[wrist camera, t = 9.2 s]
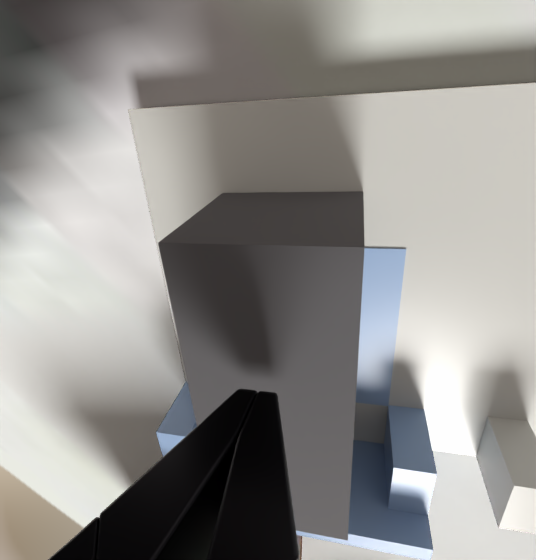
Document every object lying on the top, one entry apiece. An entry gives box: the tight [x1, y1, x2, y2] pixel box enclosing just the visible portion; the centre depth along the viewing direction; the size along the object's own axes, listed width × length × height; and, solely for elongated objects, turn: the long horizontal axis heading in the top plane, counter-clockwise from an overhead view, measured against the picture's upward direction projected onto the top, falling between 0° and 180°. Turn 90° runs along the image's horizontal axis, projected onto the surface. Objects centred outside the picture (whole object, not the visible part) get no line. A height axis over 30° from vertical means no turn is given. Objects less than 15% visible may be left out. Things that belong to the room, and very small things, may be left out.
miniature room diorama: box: [128, 82, 536, 560], centre depth 10 cm, size 20×13×4 cm, turn 94°
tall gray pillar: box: [158, 191, 365, 541], centre depth 11 cm, size 4×9×4 cm, turn 4°
